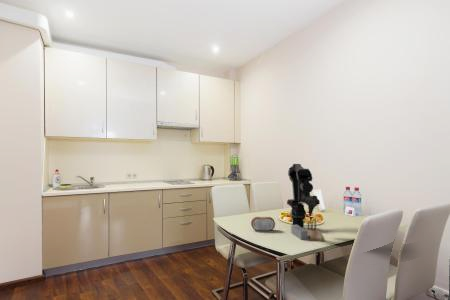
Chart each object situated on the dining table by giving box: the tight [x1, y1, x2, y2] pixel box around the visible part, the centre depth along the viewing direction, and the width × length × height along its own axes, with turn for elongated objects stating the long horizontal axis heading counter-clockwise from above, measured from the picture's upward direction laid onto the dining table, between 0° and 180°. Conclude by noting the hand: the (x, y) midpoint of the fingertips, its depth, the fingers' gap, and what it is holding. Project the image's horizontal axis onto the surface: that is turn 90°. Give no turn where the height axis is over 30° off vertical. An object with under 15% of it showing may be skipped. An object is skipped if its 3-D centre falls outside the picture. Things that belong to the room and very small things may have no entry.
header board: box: [305, 220, 325, 242], centre depth 151 cm, size 7×19×6 cm, turn 170°
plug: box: [290, 224, 309, 241], centre depth 149 cm, size 4×12×5 cm, turn 12°
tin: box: [250, 216, 276, 232], centre depth 160 cm, size 15×3×8 cm, turn 92°
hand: (303, 216), depth 150 cm, fingers open, 9 cm apart
